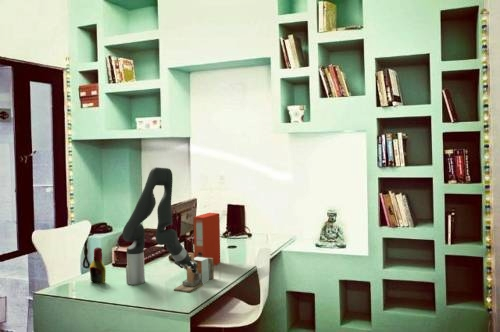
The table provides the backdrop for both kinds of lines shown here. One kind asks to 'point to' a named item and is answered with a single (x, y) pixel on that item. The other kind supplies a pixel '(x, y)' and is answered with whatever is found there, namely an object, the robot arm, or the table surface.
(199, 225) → the file binder
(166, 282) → the table surface
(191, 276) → the wooden post on base
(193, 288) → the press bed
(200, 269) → the small box
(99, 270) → the bottle
